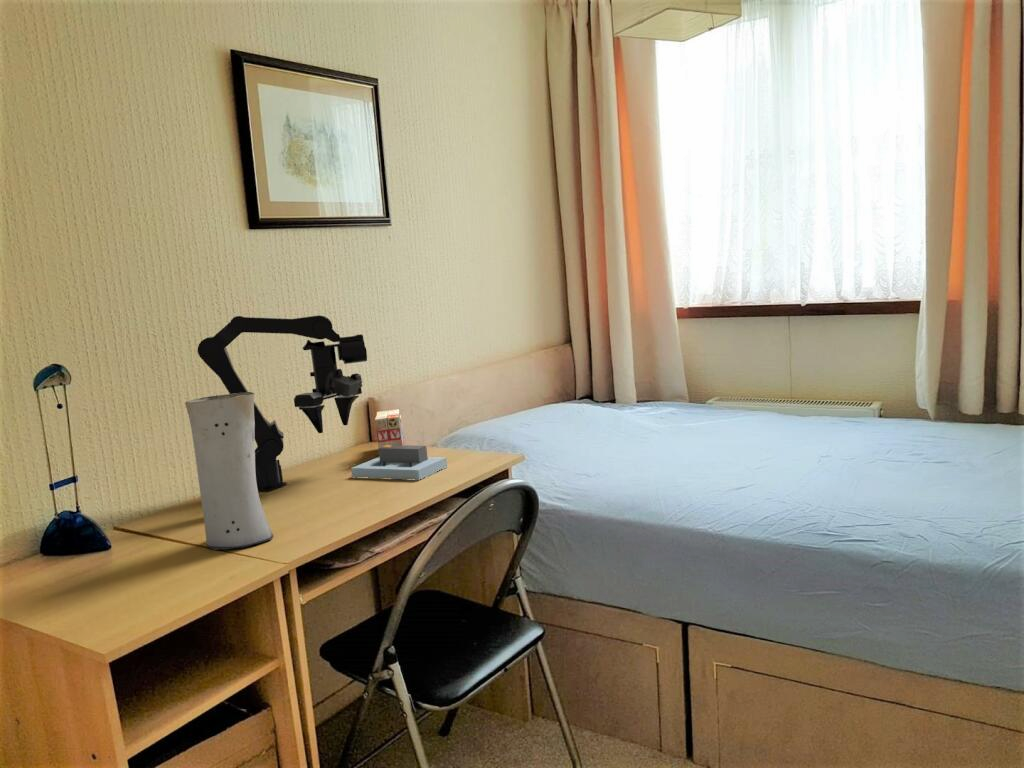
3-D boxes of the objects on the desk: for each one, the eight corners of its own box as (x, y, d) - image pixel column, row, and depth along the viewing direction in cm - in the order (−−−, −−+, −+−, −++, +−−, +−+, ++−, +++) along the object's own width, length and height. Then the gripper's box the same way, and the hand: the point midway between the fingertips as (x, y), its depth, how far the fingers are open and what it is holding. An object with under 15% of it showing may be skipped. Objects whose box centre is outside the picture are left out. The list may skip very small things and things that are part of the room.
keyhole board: (447, 467, 192) (446, 457, 191) (419, 480, 181) (418, 470, 181) (382, 465, 201) (381, 456, 201) (352, 477, 191) (351, 467, 190)
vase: (291, 534, 150) (274, 390, 148) (231, 556, 139) (211, 401, 136) (248, 528, 158) (231, 391, 155) (188, 549, 146) (168, 402, 144)
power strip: (428, 468, 191) (426, 444, 191) (420, 471, 188) (417, 448, 188) (389, 467, 197) (386, 444, 196) (381, 470, 194) (378, 447, 193)
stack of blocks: (383, 448, 224) (378, 406, 222) (405, 446, 225) (400, 404, 223) (380, 465, 203) (374, 418, 201) (404, 462, 204) (398, 415, 202)
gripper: (324, 371, 178) (333, 437, 181) (374, 360, 195) (382, 421, 197) (288, 372, 184) (297, 437, 186) (340, 361, 200) (348, 421, 202)
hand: (333, 429), depth 192 cm, fingers open, 9 cm apart
